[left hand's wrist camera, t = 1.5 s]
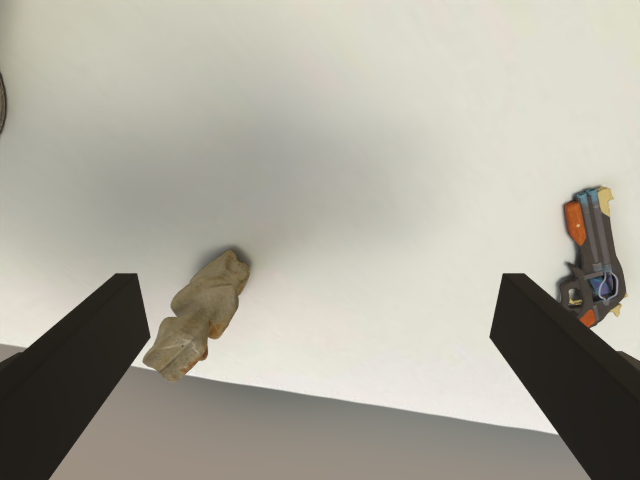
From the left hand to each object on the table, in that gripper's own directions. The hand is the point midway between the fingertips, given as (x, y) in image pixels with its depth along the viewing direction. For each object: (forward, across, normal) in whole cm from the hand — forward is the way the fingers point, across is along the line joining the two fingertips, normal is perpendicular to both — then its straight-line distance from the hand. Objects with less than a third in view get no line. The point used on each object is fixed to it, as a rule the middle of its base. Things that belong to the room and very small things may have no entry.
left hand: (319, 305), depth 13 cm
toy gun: (+27, -29, +12) cm, 41 cm away
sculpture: (+27, +11, +12) cm, 32 cm away
